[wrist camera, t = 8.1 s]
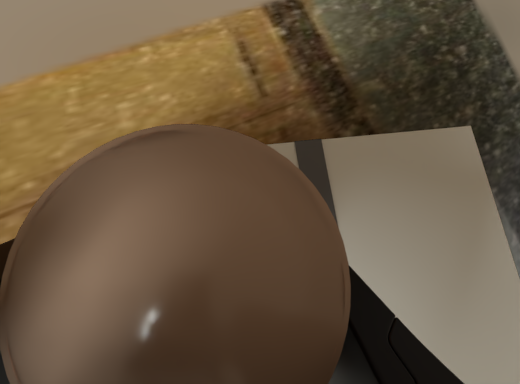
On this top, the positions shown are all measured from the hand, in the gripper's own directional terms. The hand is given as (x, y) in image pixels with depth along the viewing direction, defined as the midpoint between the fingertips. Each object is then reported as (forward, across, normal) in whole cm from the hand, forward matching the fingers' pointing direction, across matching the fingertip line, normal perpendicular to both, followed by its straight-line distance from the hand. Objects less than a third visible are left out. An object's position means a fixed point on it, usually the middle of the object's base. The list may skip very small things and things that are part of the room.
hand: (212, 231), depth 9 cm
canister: (+4, 0, +5) cm, 6 cm away
